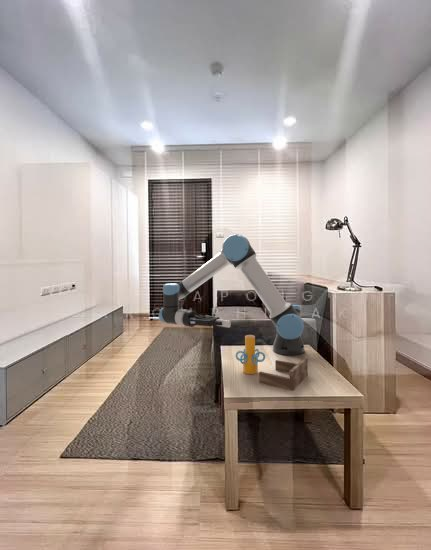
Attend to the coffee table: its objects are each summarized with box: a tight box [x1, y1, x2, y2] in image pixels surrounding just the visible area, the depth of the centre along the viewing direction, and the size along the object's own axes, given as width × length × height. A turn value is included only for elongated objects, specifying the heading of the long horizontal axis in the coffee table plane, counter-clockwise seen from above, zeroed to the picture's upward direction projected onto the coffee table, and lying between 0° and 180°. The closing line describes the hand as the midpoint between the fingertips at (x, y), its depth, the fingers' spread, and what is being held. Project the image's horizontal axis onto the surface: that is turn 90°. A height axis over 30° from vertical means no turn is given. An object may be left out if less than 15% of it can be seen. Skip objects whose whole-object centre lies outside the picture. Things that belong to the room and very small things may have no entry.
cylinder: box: [235, 334, 266, 375], centre depth 130 cm, size 12×10×15 cm
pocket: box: [258, 357, 309, 392], centre depth 122 cm, size 16×13×7 cm
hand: (229, 324), depth 135 cm, fingers closed
